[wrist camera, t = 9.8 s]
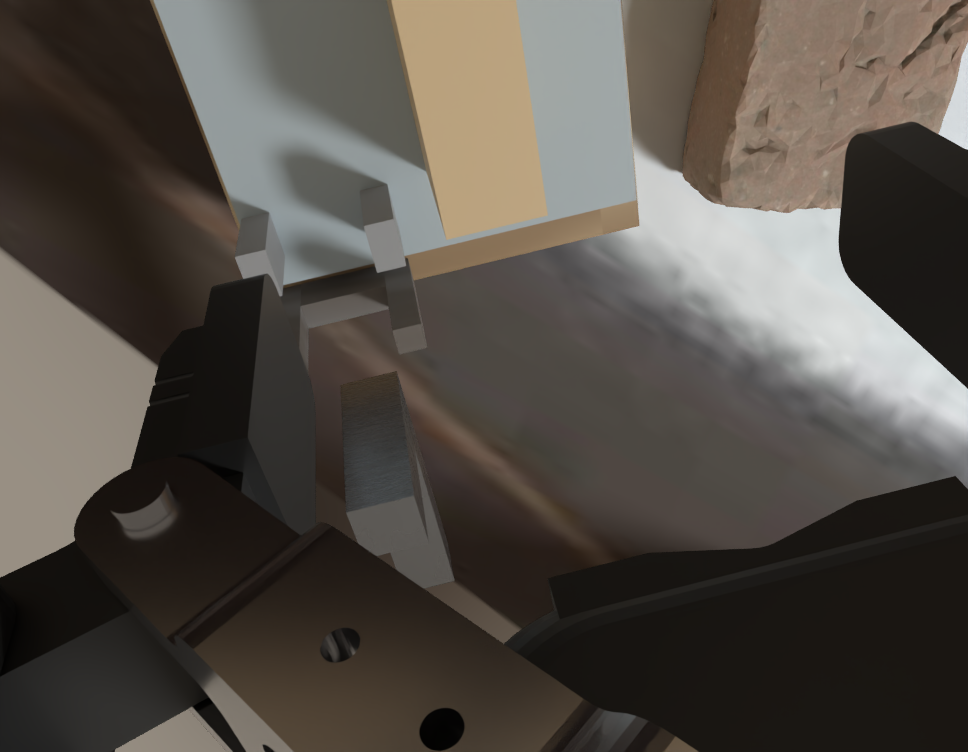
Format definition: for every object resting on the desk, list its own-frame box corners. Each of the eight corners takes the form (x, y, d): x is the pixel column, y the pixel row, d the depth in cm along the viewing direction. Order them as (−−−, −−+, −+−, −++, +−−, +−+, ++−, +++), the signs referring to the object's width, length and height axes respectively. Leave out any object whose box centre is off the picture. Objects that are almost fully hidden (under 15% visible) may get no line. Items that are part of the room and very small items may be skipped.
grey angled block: (448, 544, 31) (471, 677, 27) (400, 555, 31) (415, 691, 27) (396, 371, 27) (413, 495, 22) (340, 384, 27) (345, 512, 22)
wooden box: (582, 150, 33) (683, 284, 24) (279, 222, 32) (265, 386, 23) (529, -307, 25) (652, -364, 16) (123, -217, 24) (12, -223, 15)
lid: (617, 175, 27) (690, 268, 22) (267, 259, 27) (256, 374, 21) (577, -256, 21) (667, -271, 15) (114, -151, 20) (43, -132, 15)
